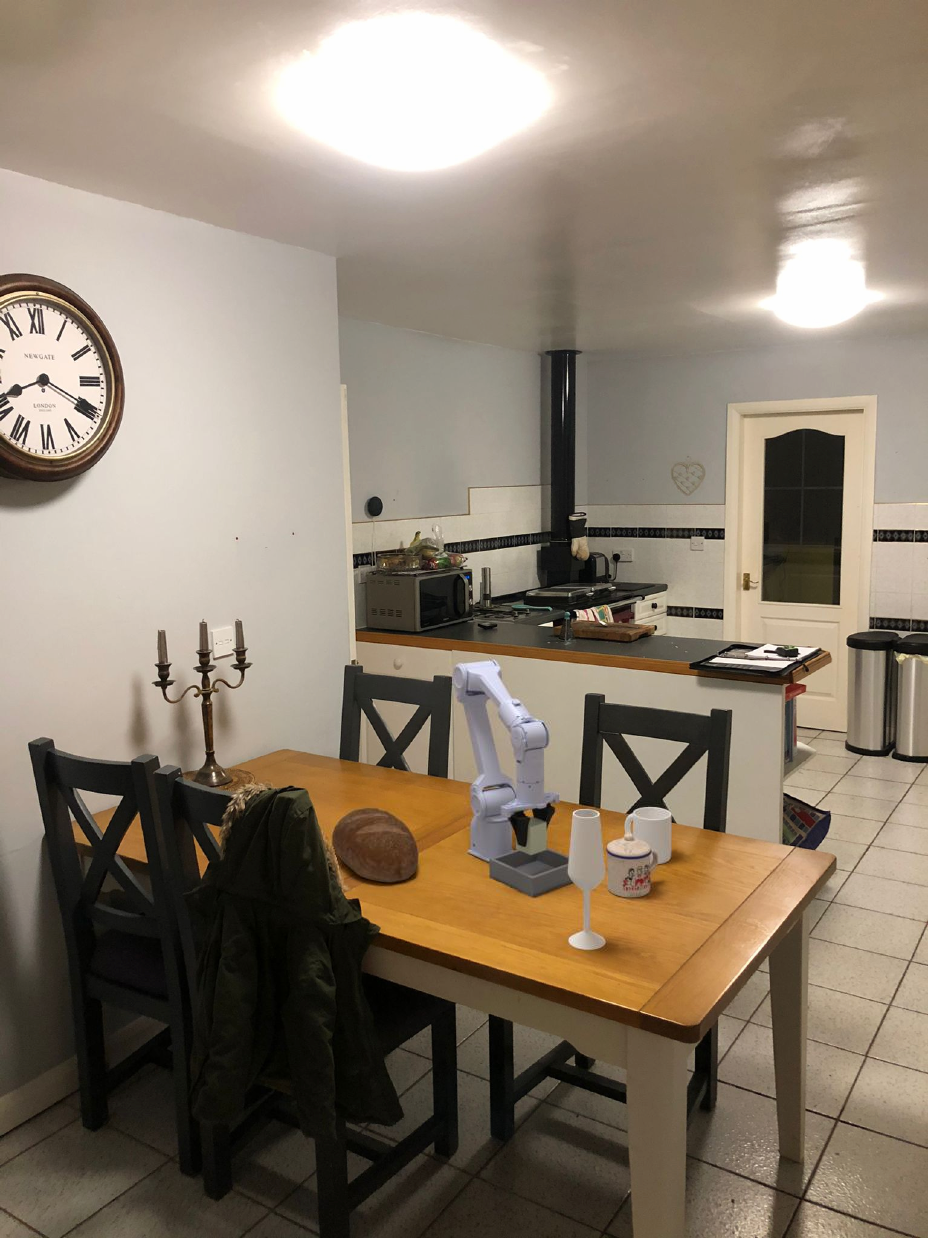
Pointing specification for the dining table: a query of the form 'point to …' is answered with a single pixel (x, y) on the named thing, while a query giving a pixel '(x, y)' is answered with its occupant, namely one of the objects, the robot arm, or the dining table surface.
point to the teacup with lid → (629, 866)
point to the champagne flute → (586, 869)
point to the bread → (376, 845)
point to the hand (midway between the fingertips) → (531, 842)
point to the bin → (531, 871)
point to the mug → (652, 830)
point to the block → (535, 837)
